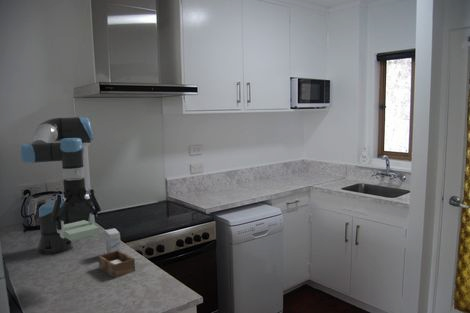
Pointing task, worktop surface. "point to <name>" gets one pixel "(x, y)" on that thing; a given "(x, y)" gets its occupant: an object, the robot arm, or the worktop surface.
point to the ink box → (112, 240)
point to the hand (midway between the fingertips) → (78, 233)
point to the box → (120, 268)
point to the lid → (80, 230)
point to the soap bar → (116, 261)
